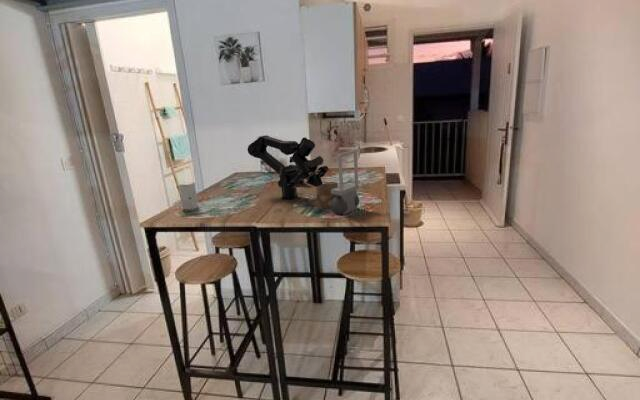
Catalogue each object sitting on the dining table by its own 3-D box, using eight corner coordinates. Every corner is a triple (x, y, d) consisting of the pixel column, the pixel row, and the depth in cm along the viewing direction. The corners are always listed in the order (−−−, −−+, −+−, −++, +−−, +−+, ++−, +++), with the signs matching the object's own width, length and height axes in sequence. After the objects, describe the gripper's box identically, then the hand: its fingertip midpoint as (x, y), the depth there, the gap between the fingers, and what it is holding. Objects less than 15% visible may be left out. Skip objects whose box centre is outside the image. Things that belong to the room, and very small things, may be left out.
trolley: (330, 213, 141) (326, 153, 134) (346, 206, 149) (343, 149, 143) (344, 216, 137) (340, 154, 130) (360, 208, 145) (358, 149, 138)
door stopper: (295, 187, 190) (293, 165, 187) (286, 186, 193) (284, 165, 190) (305, 183, 197) (303, 162, 194) (296, 182, 200) (294, 162, 197)
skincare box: (182, 209, 162) (177, 184, 159) (188, 206, 166) (184, 182, 163) (193, 209, 160) (188, 184, 157) (199, 206, 164) (195, 182, 161)
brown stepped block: (309, 204, 155) (307, 185, 152) (323, 199, 162) (321, 180, 160) (337, 209, 145) (336, 189, 142) (351, 203, 152) (350, 184, 150)
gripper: (296, 154, 146) (318, 182, 142) (324, 148, 159) (345, 173, 155) (285, 171, 153) (305, 198, 149) (312, 164, 166) (332, 188, 162)
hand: (323, 189), depth 154 cm, fingers closed, pressing on brown stepped block
